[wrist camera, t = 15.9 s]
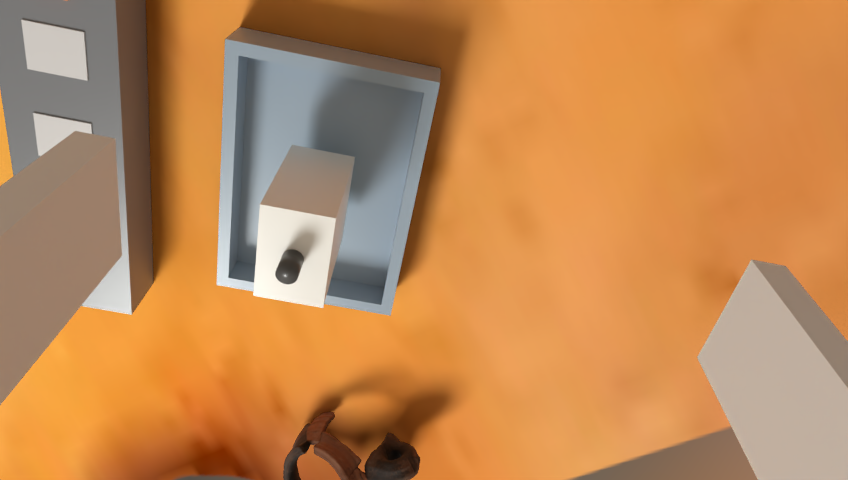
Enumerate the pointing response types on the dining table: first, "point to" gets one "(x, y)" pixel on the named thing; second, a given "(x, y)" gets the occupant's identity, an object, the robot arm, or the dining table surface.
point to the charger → (302, 226)
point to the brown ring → (353, 455)
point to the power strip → (85, 110)
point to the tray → (328, 131)
